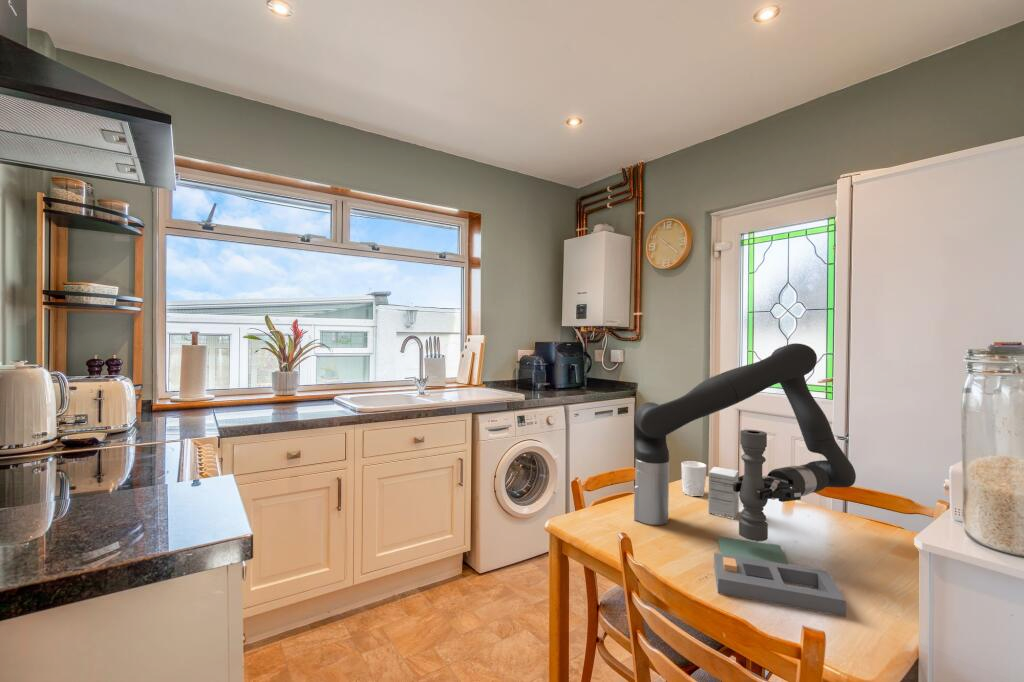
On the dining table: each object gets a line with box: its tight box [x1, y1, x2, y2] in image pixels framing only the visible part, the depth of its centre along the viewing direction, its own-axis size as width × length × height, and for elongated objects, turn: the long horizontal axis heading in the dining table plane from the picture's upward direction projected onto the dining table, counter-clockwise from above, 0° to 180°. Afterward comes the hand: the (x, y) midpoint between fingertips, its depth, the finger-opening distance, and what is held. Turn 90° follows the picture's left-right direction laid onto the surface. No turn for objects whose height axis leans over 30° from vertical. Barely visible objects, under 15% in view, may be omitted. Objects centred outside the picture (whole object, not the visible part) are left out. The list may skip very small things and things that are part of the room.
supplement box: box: [707, 466, 740, 519], centre depth 137 cm, size 7×7×13 cm
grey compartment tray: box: [713, 552, 847, 618], centre depth 95 cm, size 22×12×4 cm, turn 70°
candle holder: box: [738, 429, 769, 542], centre depth 110 cm, size 6×6×25 cm
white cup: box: [680, 460, 707, 497], centre depth 154 cm, size 8×8×10 cm
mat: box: [717, 536, 790, 565], centre depth 110 cm, size 14×12×1 cm
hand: (746, 491), depth 109 cm, fingers closed on candle holder, 5 cm apart
